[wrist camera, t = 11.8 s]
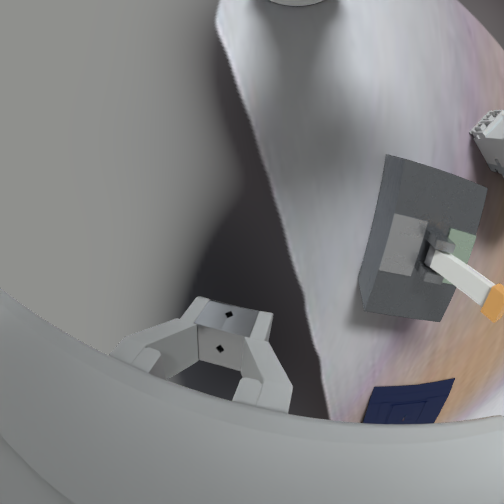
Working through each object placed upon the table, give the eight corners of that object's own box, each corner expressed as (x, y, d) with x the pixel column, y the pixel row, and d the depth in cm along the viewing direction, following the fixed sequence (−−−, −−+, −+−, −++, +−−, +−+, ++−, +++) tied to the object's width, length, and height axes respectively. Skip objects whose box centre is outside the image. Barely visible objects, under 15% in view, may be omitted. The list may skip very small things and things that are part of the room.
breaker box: (386, 154, 36) (414, 161, 24) (457, 176, 34) (501, 193, 22) (357, 278, 46) (366, 326, 34) (423, 290, 43) (446, 336, 31)
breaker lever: (426, 241, 29) (506, 297, 18) (437, 241, 30) (513, 293, 18) (419, 264, 31) (493, 322, 19) (430, 262, 32) (501, 317, 20)
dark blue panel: (353, 442, 66) (353, 450, 62) (372, 379, 58) (373, 389, 54) (421, 435, 59) (422, 443, 56) (453, 371, 51) (457, 380, 48)
